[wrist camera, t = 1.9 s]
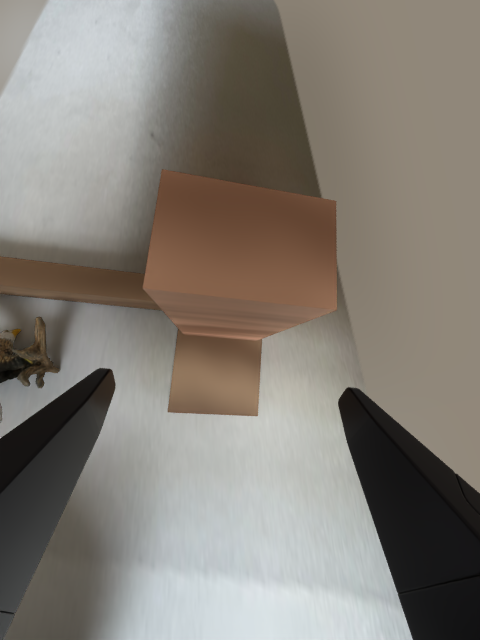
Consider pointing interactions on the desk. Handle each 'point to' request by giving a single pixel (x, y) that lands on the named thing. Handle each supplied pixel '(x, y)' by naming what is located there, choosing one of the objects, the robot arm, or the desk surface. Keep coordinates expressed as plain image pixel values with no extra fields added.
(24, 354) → the brown squirrel figurine
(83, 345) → the desk surface
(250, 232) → the wooden l-shaped stand
